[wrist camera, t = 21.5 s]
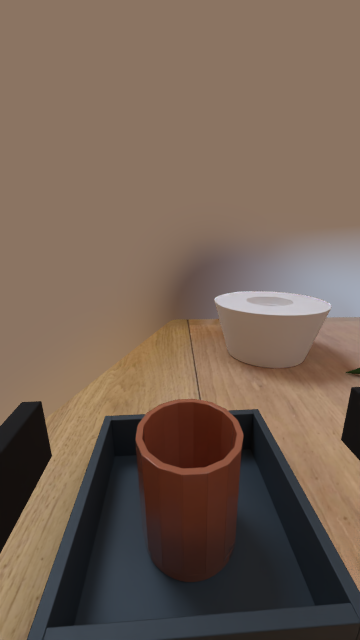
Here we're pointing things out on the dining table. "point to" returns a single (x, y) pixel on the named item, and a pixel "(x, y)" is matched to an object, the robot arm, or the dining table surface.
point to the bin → (203, 596)
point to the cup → (189, 486)
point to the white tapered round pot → (270, 326)
